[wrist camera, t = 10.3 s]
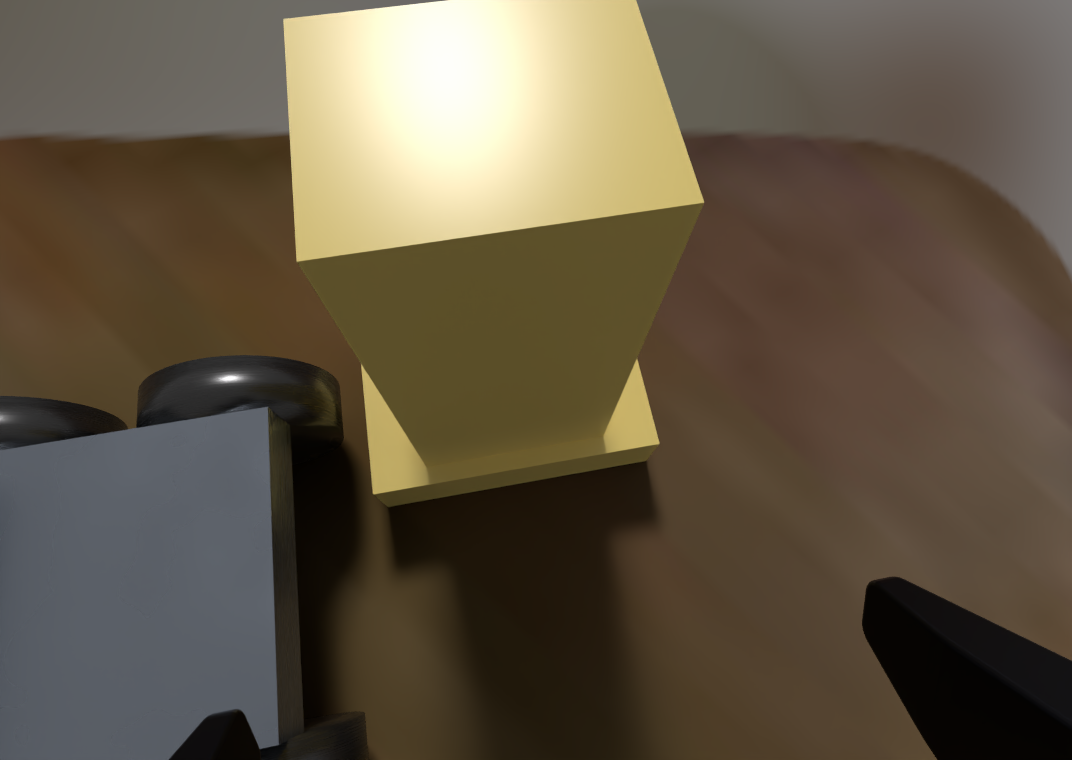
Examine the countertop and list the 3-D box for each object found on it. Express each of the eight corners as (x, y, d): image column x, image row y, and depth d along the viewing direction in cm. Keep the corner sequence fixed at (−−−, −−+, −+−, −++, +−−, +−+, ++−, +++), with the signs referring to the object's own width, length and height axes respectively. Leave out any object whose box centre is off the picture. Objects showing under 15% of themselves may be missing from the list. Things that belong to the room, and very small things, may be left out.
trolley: (389, 765, 16) (277, 888, 9) (-59, 861, 15) (-609, 1089, 8) (358, 407, 20) (259, 278, 12) (-8, 468, 19) (-355, 368, 11)
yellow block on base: (646, 460, 19) (831, 218, 8) (388, 507, 19) (164, 319, 7) (610, 318, 21) (716, -54, 9) (372, 356, 20) (174, 5, 9)
